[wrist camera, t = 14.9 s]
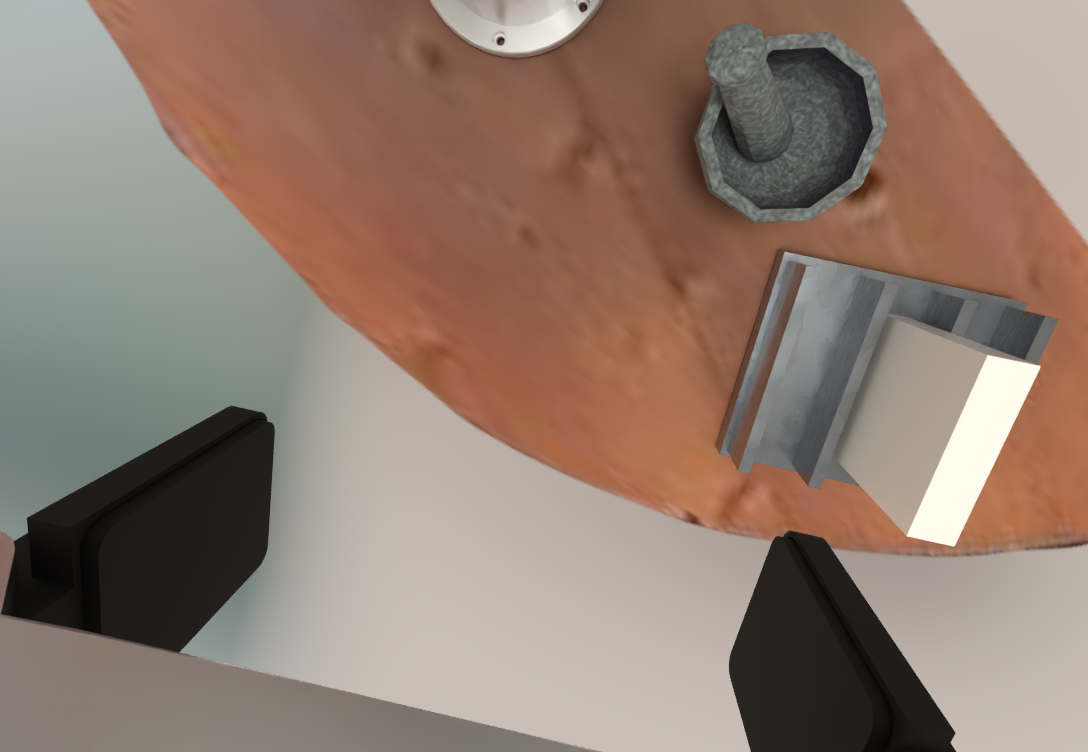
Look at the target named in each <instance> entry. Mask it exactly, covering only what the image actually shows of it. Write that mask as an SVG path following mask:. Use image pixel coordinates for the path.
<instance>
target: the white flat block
mask: <svg viewBox="0 0 1088 752" xmlns="http://www.w3.org/2000/svg"><path fill="white" fill-rule="evenodd" d="M1040 367H1041V366H1039V365H1036V364H1034V363H1031V362H1028V361H1026V360H1023V359H1020V358H1017V357H1015V356H1012V355H1009V354H1007V353H1004V352H1001V351H998V350H996V349H993V348H990V347H988V346H985V345H982V344H979V343H977V342H974V341H971V340H969V339H966V338H963V337H960V336H958V335H955V334H952V333H950V332H947V331H944V330H941V329H939V328H936V327H933V326H931V325H928V324H925V323H922V322H920V321H917V320H914V319H911V318H909V317H904V316H899V315H894V314H890V313H888V315H887V318H886V320H885V323H884V325H883V328H882V330H881V333H880V336H879V338H878V341H877V343H876V346H875V348H874V351H873V354H872V356H871V359H870V361H869V364H868V366H867V369H866V372H865V374H864V377H863V379H862V382H861V384H860V387H859V390H858V392H857V395H856V397H855V400H854V402H853V405H852V408H851V410H850V413H849V415H848V418H847V420H846V423H845V426H844V428H843V431H842V433H841V436H840V438H839V441H838V444H837V446H836V449H835V451H834V454H833V457H834V458H835V459H836V460H837V462H838V463H839V464H840V465H841V466H842V467H843V468H844V469H845V470H846V471H847V472H848V473H849V474H850V476H851V477H852V478H853V479H854V480H855V481H856V482H857V483H858V484H859V485H860V486H861V487H862V488H863V490H864V491H865V492H866V493H867V494H868V495H869V496H870V497H871V498H872V499H873V500H874V501H875V503H876V504H877V505H878V506H879V507H880V508H881V509H882V510H883V511H884V512H885V513H886V514H887V515H888V517H889V518H890V519H891V520H892V521H893V522H894V523H895V524H896V525H897V526H898V527H899V528H900V529H901V531H902V532H903V533H904V534H905V535H906V536H909V537H913V538H918V539H922V540H927V541H932V542H936V543H941V544H945V545H950V546H955V544H956V542H957V540H958V538H959V536H960V534H961V531H962V529H963V527H964V525H965V523H966V521H967V519H968V517H969V515H970V513H971V511H972V509H973V507H974V504H975V502H976V500H977V498H978V496H979V494H980V492H981V490H982V488H983V486H984V484H985V482H986V479H987V477H988V475H989V473H990V471H991V469H992V467H993V465H994V463H995V461H996V459H997V457H998V454H999V452H1000V450H1001V448H1002V446H1003V444H1004V442H1005V440H1006V438H1007V436H1008V434H1009V432H1010V430H1011V427H1012V425H1013V423H1014V421H1015V419H1016V417H1017V415H1018V413H1019V411H1020V409H1021V407H1022V405H1023V402H1024V400H1025V398H1026V396H1027V394H1028V392H1029V390H1030V388H1031V386H1032V384H1033V382H1034V380H1035V377H1036V375H1037V373H1038V371H1039V369H1040Z"/></svg>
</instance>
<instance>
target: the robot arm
mask: <svg viewBox="0 0 1088 752" xmlns="http://www.w3.org/2000/svg"><path fill="white" fill-rule="evenodd" d="M603 1H604V0H430V2H431V4H432V6H433V7H434V9H435V10H436V11H437V13H438V14H439V15H440V17H441V18H442V19H443V21H444V22H445V23H446V24H447V25H448V26H449V27H450V29H451V30H452V31H453V32H454V33H456V34H457V35H458V36H459V37H461V38H462V39H463V40H465V41H466V42H467V43H468V44H470V45H472V46H474V47H476V48H478V49H480V50H482V51H484V52H486V53H490V54H494V55H498V56H502V57H514V58H524V57H530V56H535V55H541V54H543V53H546V52H548V51H551V50H553V49H556V48H558V47H560V46H561V45H563V44H564V43H566V42H567V41H569V40H570V39H572V38H573V37H575V36H576V35H577V34H578V33H579V32H580V31H581V30H582V29H583V28H584V27H585V26H586V25H587V24H588V23H589V22H590V21H591V19H592V18H593V16H594V15H595V14H596V12H597V11H598V9H599V8H600V7H601V5H602V3H603ZM581 5H586V6H587V10H586V11H585V12H581V11H580V10H579V7H580V6H581ZM500 38H503V39H504V40H505V43H504V44H503V45H502V46H499V45H498V40H499V39H500ZM274 430H275V429H274V425H273V424H272V423H271V422H267V417H266V415H265V414H264V413H262V412H257V411H253V410H248V409H244V408H239V407H235V406H230V407H227V408H225V409H224V410H222V411H220V412H218V413H216V414H215V415H213V416H211V417H209V418H207V419H205V420H204V421H202V422H200V423H198V424H196V425H195V426H193V427H191V428H189V429H187V430H186V431H184V432H182V433H180V434H179V435H177V436H175V437H173V438H171V439H169V440H167V441H166V442H164V443H162V444H160V445H159V446H157V447H155V448H153V449H151V450H149V451H147V452H146V453H144V454H142V455H140V456H139V457H137V458H135V459H133V460H131V461H129V462H127V463H126V464H124V465H122V466H120V467H118V468H117V469H115V470H113V471H111V472H109V473H108V474H106V475H104V476H102V477H100V478H98V479H97V480H95V481H93V482H91V483H90V484H88V485H86V486H84V487H82V488H80V489H78V490H77V491H75V492H73V493H71V494H69V495H68V496H66V497H64V498H62V499H60V500H59V501H57V502H55V503H53V504H51V505H49V506H48V507H46V508H44V509H42V510H40V511H39V512H37V513H35V514H33V515H31V516H30V517H28V518H27V524H28V533H27V534H26V535H24V536H22V537H21V538H19V539H17V540H15V541H14V540H13V539H12V538H11V537H9V536H8V535H7V534H6V533H4V532H1V531H0V752H600V751H596V750H591V749H587V748H583V747H578V746H574V745H570V744H566V743H562V742H557V741H553V740H549V739H545V738H541V737H536V736H532V735H528V734H524V733H519V732H515V731H511V730H506V729H502V728H498V727H494V726H490V725H485V724H481V723H476V722H473V721H468V720H464V719H459V718H456V717H451V716H447V715H443V714H439V713H435V712H430V711H426V710H422V709H418V708H414V707H409V706H405V705H401V704H396V703H392V702H388V701H384V700H380V699H376V698H371V697H367V696H363V695H359V694H355V693H350V692H346V691H342V690H338V689H333V688H329V687H325V686H321V685H317V684H312V683H308V682H304V681H300V680H296V679H291V678H287V677H283V676H279V675H274V674H270V673H266V672H262V671H257V670H253V669H248V668H244V667H240V666H236V665H231V664H227V663H222V662H218V661H214V660H210V659H205V658H201V657H197V656H192V655H188V654H183V653H179V652H180V651H181V650H182V649H183V648H184V647H185V646H186V645H187V644H188V642H189V641H190V640H191V639H192V638H193V637H194V636H195V635H196V634H197V633H198V631H200V630H201V629H202V627H203V626H204V625H205V624H206V623H207V622H208V621H209V620H210V619H211V618H212V617H213V616H214V615H215V613H216V612H217V611H218V610H219V609H220V608H221V607H222V606H223V605H224V604H225V603H226V602H227V601H228V600H229V598H230V597H231V596H232V595H233V594H234V593H235V592H236V591H237V590H238V589H239V588H240V587H241V586H242V584H243V583H244V582H245V581H246V580H247V579H248V578H249V577H250V576H251V575H252V574H253V572H254V571H256V569H257V568H258V567H259V566H260V565H261V563H262V561H263V560H264V557H265V555H266V552H267V547H268V533H269V517H270V501H271V484H272V468H273V450H274V435H275V434H274V433H275V431H274ZM729 673H730V678H731V682H732V685H733V689H734V693H735V696H736V699H737V703H738V707H739V710H740V714H741V718H742V721H743V725H744V728H745V732H746V736H747V739H748V743H749V746H750V750H751V752H956V751H955V749H954V748H953V746H952V745H951V743H950V742H951V740H952V739H953V737H954V735H955V731H954V730H953V728H952V727H951V726H950V724H949V723H948V721H947V720H946V718H945V717H944V715H943V714H942V712H941V711H940V709H939V708H938V707H937V705H936V703H935V702H934V700H933V699H932V697H931V696H930V694H929V693H928V691H927V690H926V688H925V687H924V686H923V684H922V683H921V681H920V680H919V678H918V677H917V675H916V674H915V672H914V671H913V669H912V668H911V666H910V665H909V663H908V662H907V660H906V659H905V657H904V656H903V655H902V653H901V651H900V650H899V649H898V647H897V646H896V644H895V643H894V641H893V640H892V638H891V637H890V635H889V634H888V632H887V631H886V629H885V628H884V627H883V625H882V623H881V622H880V620H879V619H878V617H877V616H876V614H875V613H874V612H873V610H872V608H871V607H870V605H869V604H868V603H867V601H866V600H865V598H864V597H863V595H862V594H861V592H860V591H859V589H858V588H857V586H856V585H855V583H854V582H853V580H852V579H851V577H850V576H849V574H848V573H847V572H846V570H845V568H844V567H843V565H842V564H841V563H840V561H839V560H838V558H837V557H836V555H835V554H834V552H833V551H832V549H831V548H830V546H829V545H828V543H827V542H826V541H825V540H824V539H823V538H821V537H816V536H812V535H807V534H803V533H798V532H794V531H788V532H787V533H786V534H785V535H784V536H783V537H780V536H777V537H775V539H774V540H773V542H772V544H771V547H770V549H769V552H768V555H767V557H766V560H765V563H764V565H763V568H762V571H761V573H760V576H759V579H758V582H757V584H756V587H755V589H754V592H753V595H752V598H751V600H750V603H749V606H748V608H747V612H746V614H745V616H744V619H743V622H742V624H741V627H740V630H739V632H738V635H737V638H736V641H735V644H734V646H733V649H732V651H731V655H730V660H729Z"/></svg>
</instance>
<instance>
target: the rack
mask: <svg viewBox="0 0 1088 752" xmlns="http://www.w3.org/2000/svg"><path fill="white" fill-rule="evenodd" d="M1026 305H1027V302H1022V301H1018V300H1014V299H1009V298H1004V297H1000V296H995V295H990V294H985V293H981V292H976V291H971V290H966V289H962V288H957V287H952V286H947V285H942V284H938V283H933V282H928V281H923V280H919V279H914V278H909V277H904V276H900V275H895V274H890V273H885V272H881V271H876V270H871V269H866V268H862V267H857V266H852V265H847V264H843V263H838V262H833V261H828V260H823V259H819V258H814V257H809V256H804V255H800V254H795V253H790V252H785V251H781V250H778V252H777V255H776V258H775V261H774V265H773V268H772V271H771V274H770V277H769V280H768V283H767V287H766V290H765V293H764V296H763V299H762V302H761V305H760V309H759V312H758V315H757V318H756V321H755V324H754V327H753V331H752V334H751V337H750V340H749V343H748V346H747V349H746V353H745V356H744V359H743V362H742V365H741V368H740V371H739V375H738V378H737V381H736V384H735V387H734V390H733V393H732V397H731V400H730V403H729V406H728V409H727V412H726V415H725V419H724V422H723V425H722V428H721V431H720V434H719V437H718V441H717V444H716V448H717V450H718V452H719V454H720V455H723V456H728V457H731V459H732V460H733V462H734V464H735V466H736V468H737V470H738V471H740V472H745V473H749V474H750V471H751V468H752V465H753V462H755V463H760V464H764V465H769V466H773V467H778V468H782V469H787V470H791V471H796V472H798V474H799V475H800V476H801V478H802V479H803V480H804V482H805V483H806V484H807V486H808V487H813V488H817V489H820V487H821V485H822V482H823V480H824V478H828V479H832V480H837V481H841V482H846V483H850V484H855V485H859V484H858V483H857V482H856V481H855V480H854V479H853V478H852V477H851V476H850V474H849V473H848V472H847V471H846V470H845V469H844V468H843V467H842V466H841V465H840V464H839V463H838V462H837V460H836V459H835V458H834V457H833V454H834V451H835V449H836V446H837V444H838V441H839V438H840V436H841V433H842V431H843V428H844V426H845V423H846V420H847V418H848V415H849V413H850V410H851V408H852V405H853V402H854V400H855V397H856V395H857V392H858V390H859V387H860V384H861V382H862V379H863V377H864V374H865V372H866V369H867V366H868V364H869V361H870V359H871V356H872V354H873V351H874V348H875V346H876V343H877V341H878V338H879V336H880V333H881V330H882V328H883V325H884V323H885V320H886V318H887V315H888V313H890V314H894V315H899V316H904V317H909V318H911V319H914V320H917V321H920V322H922V323H925V324H928V325H931V326H933V327H936V328H939V329H941V330H944V331H947V332H950V333H952V334H955V335H958V336H960V337H963V338H966V339H969V340H971V341H974V342H977V343H979V344H982V345H985V346H988V347H990V348H993V349H996V350H998V351H1001V352H1004V353H1007V354H1009V355H1012V356H1015V357H1017V358H1020V359H1023V360H1026V361H1028V362H1031V363H1034V364H1036V365H1037V363H1038V361H1039V359H1040V357H1041V355H1042V353H1043V351H1044V349H1045V347H1046V345H1047V343H1048V341H1049V338H1050V336H1051V334H1052V332H1053V330H1054V328H1055V326H1056V324H1057V322H1058V320H1059V319H1056V318H1052V317H1048V316H1044V315H1040V314H1036V313H1032V312H1029V311H1025V310H1024V309H1025V307H1026ZM859 486H860V485H859Z"/></svg>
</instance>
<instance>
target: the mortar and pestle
mask: <svg viewBox="0 0 1088 752" xmlns="http://www.w3.org/2000/svg"><path fill="white" fill-rule="evenodd" d="M704 62H705V65H706V69H707V72H708V75H709V78H710V81H711V82H712V83H713V85H712V88H711V91H710V94H709V97H708V100H707V103H706V106H705V109H704V112H703V115H702V117H701V120H700V123H699V126H698V129H697V132H696V135H695V138H694V141H695V145H696V149H697V152H698V156H699V160H700V163H701V167H702V171H703V175H704V178H705V182H706V186H707V189H708V191H709V192H711V193H712V194H713V195H715V196H716V197H717V198H719V199H720V200H721V201H723V202H724V203H726V204H727V205H728V206H730V207H731V208H732V209H734V210H735V211H736V212H738V213H739V214H740V215H742V216H743V217H744V218H746V219H747V220H749V221H750V222H781V221H812V220H813V219H815V218H816V217H818V216H819V215H820V214H822V213H823V212H825V211H826V210H828V209H829V208H830V207H832V206H833V205H835V204H836V203H838V202H839V201H840V200H842V199H843V198H845V197H846V196H848V195H849V194H850V193H852V192H853V191H855V190H856V189H858V188H859V187H860V186H862V184H863V182H864V179H865V177H866V175H867V173H868V170H869V168H870V166H871V163H872V161H873V159H874V157H875V154H876V152H877V150H878V148H879V145H880V143H881V141H882V138H883V136H884V134H885V132H886V129H887V123H886V118H885V113H884V107H883V102H882V97H881V92H880V86H879V81H878V76H877V70H876V68H875V67H874V66H873V65H872V64H870V63H869V62H868V61H867V60H865V59H864V58H863V57H861V56H860V55H859V54H858V53H856V52H855V51H854V50H853V49H851V48H850V47H849V46H848V45H846V44H845V43H844V42H842V41H841V40H840V39H839V38H837V37H836V36H835V35H834V34H832V33H831V32H821V33H804V34H787V35H770V36H768V37H767V38H766V39H764V36H763V33H762V30H760V29H758V28H756V27H754V26H752V25H750V24H747V23H742V24H737V25H733V26H729V27H726V28H725V29H724V30H723V31H722V32H721V33H719V34H718V35H717V36H716V37H715V38H714V39H713V40H712V41H711V43H710V46H709V49H708V51H707V54H706V57H705V60H704Z"/></svg>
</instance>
